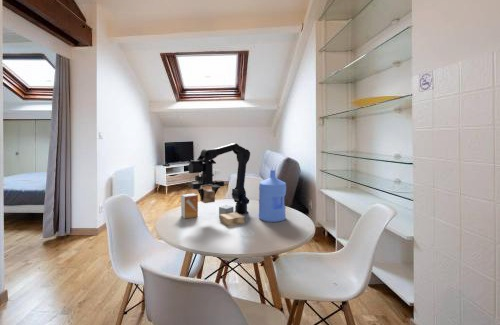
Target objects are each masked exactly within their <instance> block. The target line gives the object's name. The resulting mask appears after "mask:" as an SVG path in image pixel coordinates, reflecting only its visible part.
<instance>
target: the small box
mask: <svg viewBox="0 0 500 325" xmlns="http://www.w3.org/2000/svg"><path fill="white" fill-rule="evenodd" d="M198 199H199V197H198V194H196V193H186V194H181V195H180V203H181V204H180V206H181V207H180V208H181V209H180V210H181V212H180V213H181V214H180V216H181V217H182V218H184V219H191V218H198V217H199V216H198V215H199V213H198V210H199V204H198V202H199V200H198Z"/></svg>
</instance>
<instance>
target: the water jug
mask: <svg viewBox="0 0 500 325" xmlns="http://www.w3.org/2000/svg"><path fill="white" fill-rule="evenodd" d="M269 171H270V173H269V174H270V176H269V178H266V179H263V180H262V181H260V182H259V184H258V192H259V193H258V197H259V198H258V218H259V219H260V220H261V221H264V222H268V223H276V222H277V223H278V222H283V221H284V220H286V215H287V214H286V205H285V196H286V194H287V183H286V182H285V181H283V180H281V179H279V178H277V176H276V172H277V171H276V169H275V170H272V169H271V170H269Z"/></svg>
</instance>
